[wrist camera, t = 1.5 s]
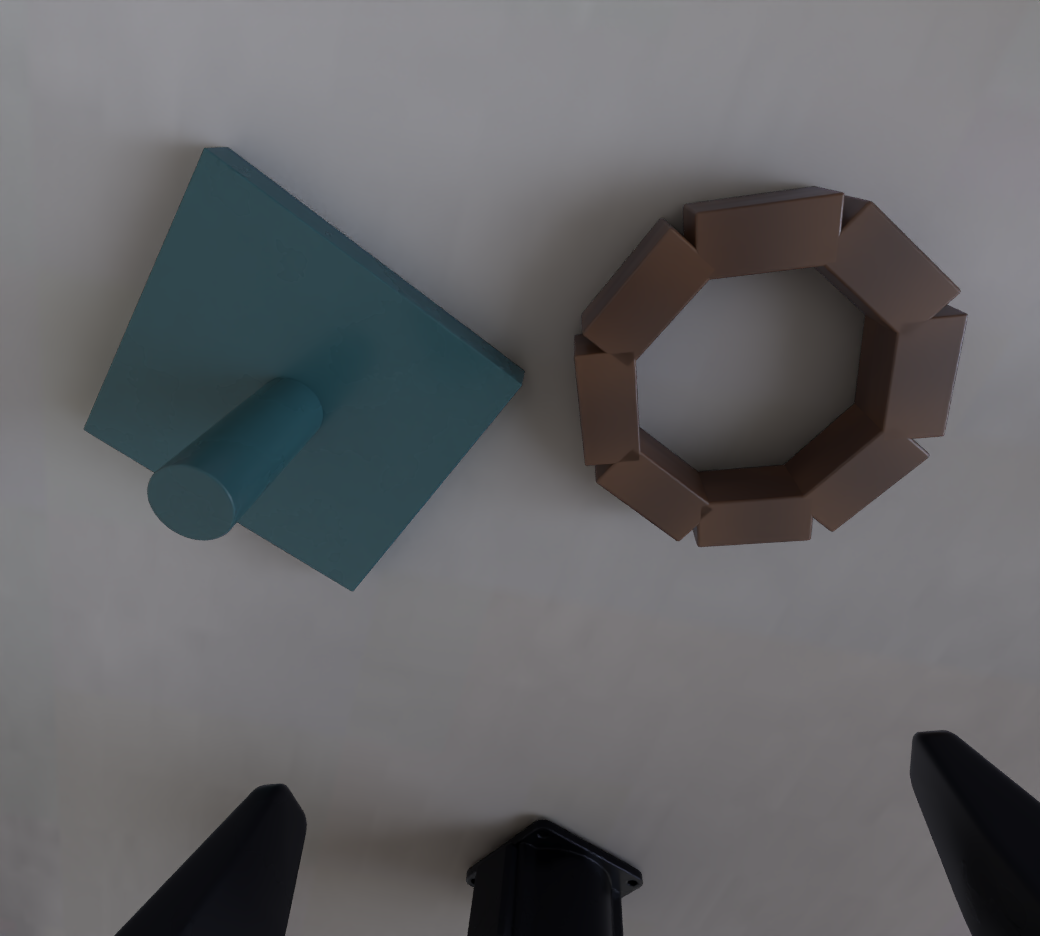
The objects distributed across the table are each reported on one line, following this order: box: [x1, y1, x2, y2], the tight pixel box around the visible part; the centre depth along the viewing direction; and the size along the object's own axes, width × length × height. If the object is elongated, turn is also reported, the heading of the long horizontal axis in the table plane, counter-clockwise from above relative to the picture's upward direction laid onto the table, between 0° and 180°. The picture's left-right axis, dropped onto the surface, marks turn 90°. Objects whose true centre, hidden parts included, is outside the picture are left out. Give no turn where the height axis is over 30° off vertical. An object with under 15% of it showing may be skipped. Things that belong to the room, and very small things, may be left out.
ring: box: [574, 186, 968, 547], centre depth 17 cm, size 10×10×2 cm
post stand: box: [84, 147, 525, 591], centre depth 17 cm, size 10×10×7 cm
